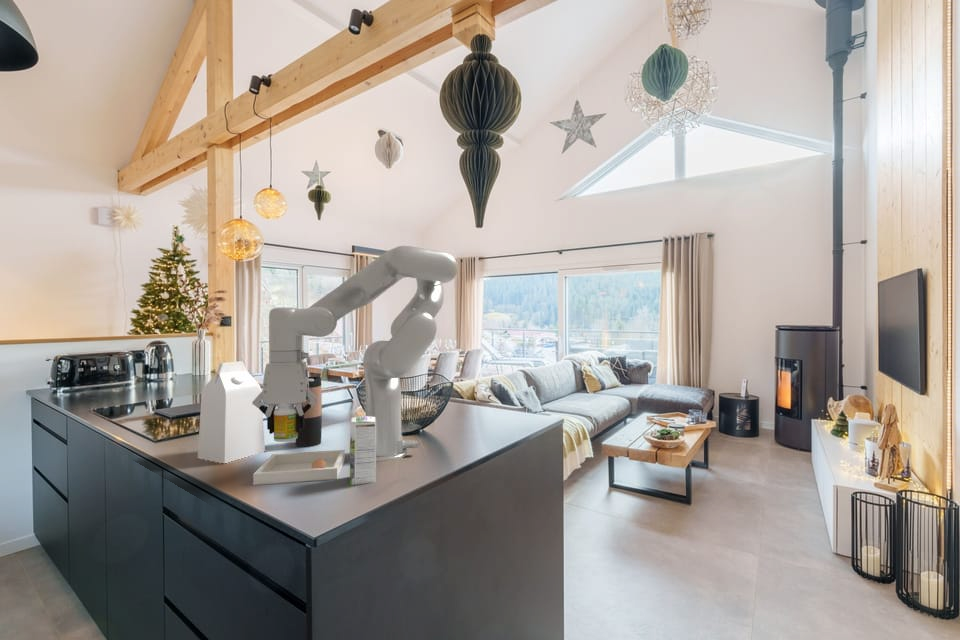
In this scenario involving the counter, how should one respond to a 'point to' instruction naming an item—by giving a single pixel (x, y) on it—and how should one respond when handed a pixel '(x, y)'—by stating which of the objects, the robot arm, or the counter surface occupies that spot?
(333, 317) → the robot arm
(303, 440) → the travel mug
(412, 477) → the counter surface
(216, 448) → the milk
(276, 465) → the tray
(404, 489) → the counter surface
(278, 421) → the supplement bottle
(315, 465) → the ball
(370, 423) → the syrup box
